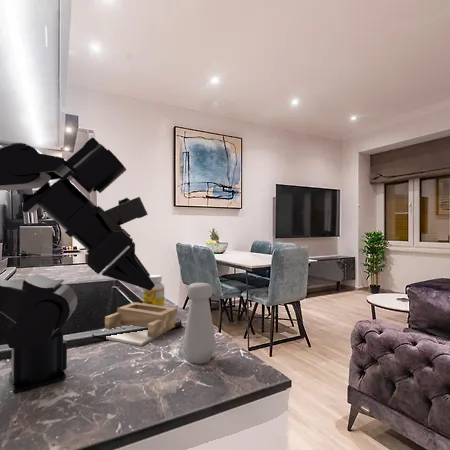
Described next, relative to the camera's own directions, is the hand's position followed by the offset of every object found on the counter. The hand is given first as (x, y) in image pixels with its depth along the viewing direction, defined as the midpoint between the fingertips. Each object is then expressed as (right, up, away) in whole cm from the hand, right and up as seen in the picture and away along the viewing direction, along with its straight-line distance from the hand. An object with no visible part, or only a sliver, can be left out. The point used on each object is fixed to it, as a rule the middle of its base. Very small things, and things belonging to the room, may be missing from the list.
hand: (150, 282), depth 51 cm
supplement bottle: (-6, -14, +30) cm, 33 cm away
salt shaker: (+8, -14, +3) cm, 16 cm away
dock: (-7, -13, +16) cm, 22 cm away
